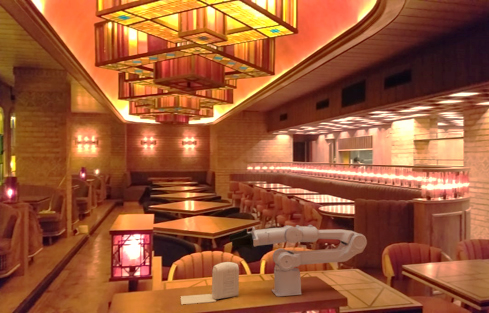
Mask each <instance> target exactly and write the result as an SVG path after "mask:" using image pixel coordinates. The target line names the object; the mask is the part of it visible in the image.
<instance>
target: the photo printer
mask: <svg viewBox="0 0 489 313" xmlns="http://www.w3.org/2000/svg"><path fill="white" fill-rule="evenodd" d="M239 275H240V267H239V264H238V263H236V262H232V261H226V262H225V261H224V262H220V263H219V262H218V263H217V264H215V265H213V266H212V271H211V277H212V279H211V294H212V298H213V299H215V300H219V299H220V300H221V299H226V298H231V297H232V298H233V297H238V296H239V289H240V288H239V284H240V279H239V278H240V276H239Z"/></svg>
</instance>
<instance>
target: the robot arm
mask: <svg viewBox="0 0 489 313" xmlns="http://www.w3.org/2000/svg"><path fill="white" fill-rule="evenodd" d="M228 236H229V237H228V239H229V242H230V243H231V246H232V247H238V248H239V247H241V248H247V249H249V250H253V248H254V247H257V246H265V245H275V244H282V243H287V242H288V243H292V244H296V243H316V242H317V241H318V240H319V239H321V240H322V239H323V240H339V245H338V246H337V247H336V248H328V249H326V248H325V249H313V250H311V249H310V250H298V251H297V250H287V249H284V248H278V249H277V248H276V250H275V251H274V252H273V254H272V261H273V262H274V263H275V265H274V267H273V276H274V279H273V280H274V288H272V289H271V292H272V293H273V294H274V295H275V296H276V297H285V296H286V297H287V296H289V297H290V296H298V295H300V296H301V295H303V294H302V280H301V271H300V269H299V268H298V267H300V266H302V265H314V264H327V263H329V264H330V263H342V262H348V261H349V260H350V259H352V258H353V257H354V256H356V255H357V254H361V253H363V252H364V250H365V248H366V247H367V245H368V240H367V238H366V236H365V235H364V234H362V233H358V232H356V231H354V230H347V229H338V228H337V229H335V228H334V229H318V228H317V227H316V226H313V224H308V225H307V226H305V225H304V226H303V225H302V226H300V225H299V224H297V225H295V226H293V225H288V224H287V225H284V226H283V227H270V228H263V229H256V227H255V226H252V230H251V231H248V228H244V229H242V230H241V231H239V232H235V233H233V234H230V235H228Z"/></svg>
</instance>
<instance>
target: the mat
mask: <svg viewBox="0 0 489 313" xmlns="http://www.w3.org/2000/svg"><path fill="white" fill-rule="evenodd" d="M180 297H181V298H180ZM180 297H179V298H180V303H181V304H180V305H181V306H183V304H186V305H196V304H197V303H198V304H206V303H207V304H209V303H210V304H211V303H216V302H217V299H213V298H212V293H205V294H203V293H202V294H193V295H191V294H190V295H181V296H180ZM198 304H197V305H198Z"/></svg>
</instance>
